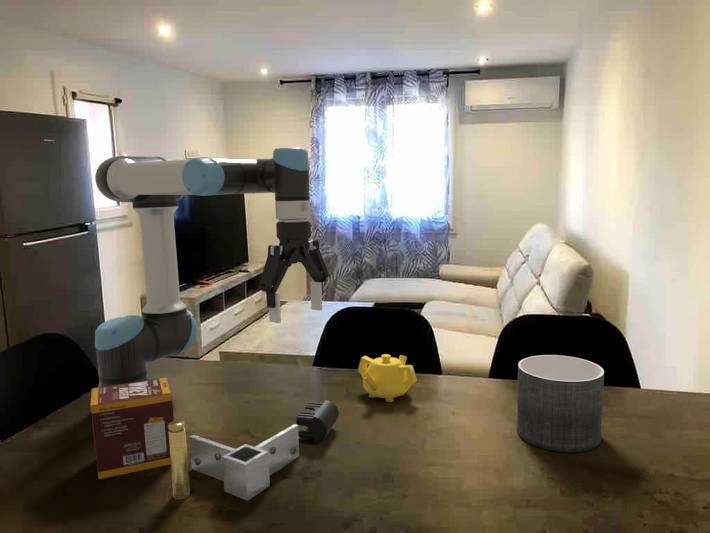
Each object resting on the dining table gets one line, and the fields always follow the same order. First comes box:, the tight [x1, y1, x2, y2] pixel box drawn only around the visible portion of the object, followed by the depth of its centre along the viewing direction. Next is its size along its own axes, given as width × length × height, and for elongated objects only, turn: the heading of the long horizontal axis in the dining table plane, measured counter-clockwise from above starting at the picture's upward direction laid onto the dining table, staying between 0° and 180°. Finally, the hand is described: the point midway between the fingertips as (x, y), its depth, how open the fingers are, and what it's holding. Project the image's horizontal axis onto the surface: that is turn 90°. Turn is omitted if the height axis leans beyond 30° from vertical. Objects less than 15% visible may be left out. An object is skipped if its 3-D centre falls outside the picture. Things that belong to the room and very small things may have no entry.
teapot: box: [357, 353, 418, 403], centre depth 151 cm, size 20×18×11 cm
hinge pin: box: [168, 420, 191, 500], centre depth 104 cm, size 3×3×14 cm
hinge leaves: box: [189, 423, 300, 501], centre depth 114 cm, size 18×18×7 cm
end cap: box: [295, 399, 340, 446], centre depth 128 cm, size 10×7×7 cm
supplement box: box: [89, 377, 175, 480], centre depth 118 cm, size 10×15×16 cm
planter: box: [516, 354, 605, 454], centre depth 125 cm, size 18×18×16 cm
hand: (296, 315), depth 125 cm, fingers open, 13 cm apart
